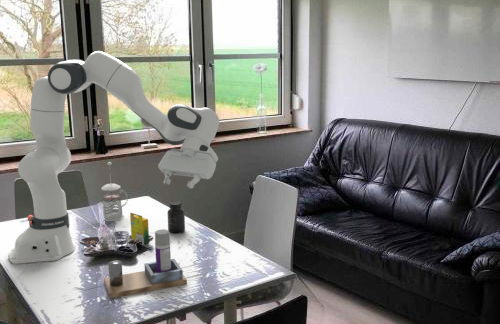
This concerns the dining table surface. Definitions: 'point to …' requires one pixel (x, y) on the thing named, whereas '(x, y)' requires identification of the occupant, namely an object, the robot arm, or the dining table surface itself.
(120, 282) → the metal post
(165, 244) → the container
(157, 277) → the wooden board
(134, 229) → the crayon box
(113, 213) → the french press
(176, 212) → the supplement bottle
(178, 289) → the dining table surface
